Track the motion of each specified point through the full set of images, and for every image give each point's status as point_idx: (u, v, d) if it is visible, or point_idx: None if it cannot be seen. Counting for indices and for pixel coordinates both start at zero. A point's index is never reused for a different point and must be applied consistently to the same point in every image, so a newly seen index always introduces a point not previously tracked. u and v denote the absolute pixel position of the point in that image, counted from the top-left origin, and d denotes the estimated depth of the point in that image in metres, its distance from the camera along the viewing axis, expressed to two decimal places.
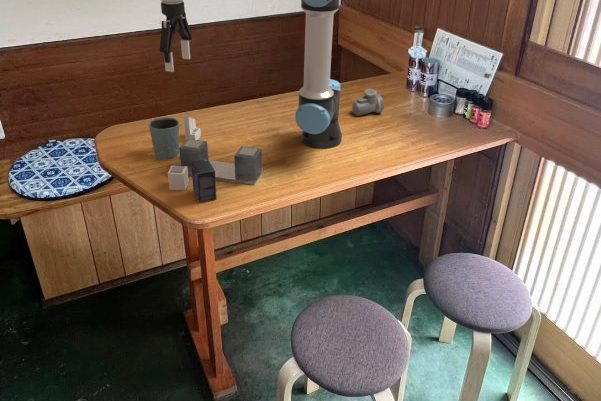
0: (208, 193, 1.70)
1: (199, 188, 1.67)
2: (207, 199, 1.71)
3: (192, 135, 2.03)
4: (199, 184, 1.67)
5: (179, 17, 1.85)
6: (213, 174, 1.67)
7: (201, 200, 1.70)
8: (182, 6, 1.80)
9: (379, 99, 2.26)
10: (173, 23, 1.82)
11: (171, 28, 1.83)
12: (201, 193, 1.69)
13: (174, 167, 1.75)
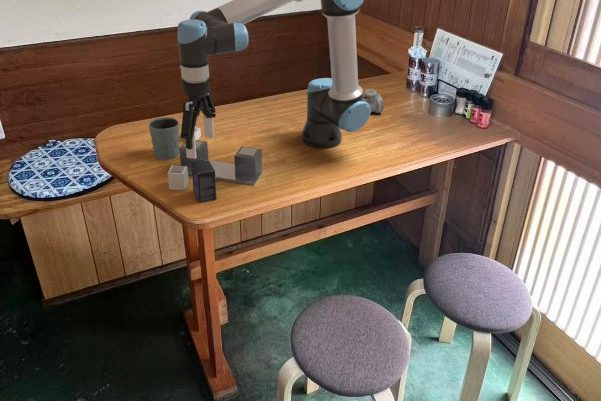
0: (208, 193, 1.70)
1: (199, 188, 1.67)
2: (207, 199, 1.71)
3: None
4: (199, 184, 1.67)
5: (202, 95, 1.58)
6: (213, 174, 1.67)
7: (201, 200, 1.70)
8: (207, 84, 1.53)
9: (379, 99, 2.26)
10: (196, 104, 1.54)
11: (194, 109, 1.55)
12: (201, 193, 1.69)
13: (174, 167, 1.75)
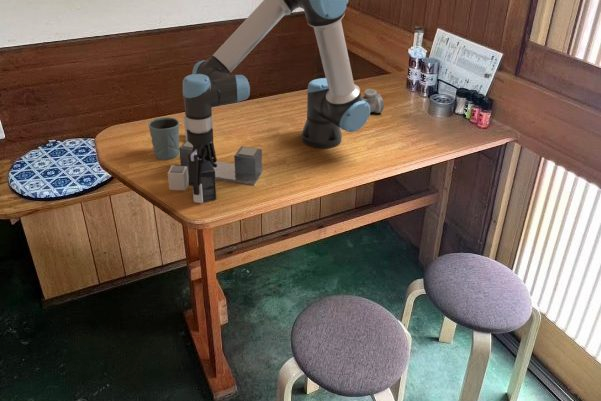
0: (208, 193, 1.69)
1: None
2: (207, 199, 1.71)
3: None
4: None
5: None
6: (213, 174, 1.67)
7: None
8: (211, 134, 1.61)
9: (379, 99, 2.26)
10: (200, 152, 1.62)
11: (198, 157, 1.63)
12: None
13: (174, 167, 1.75)
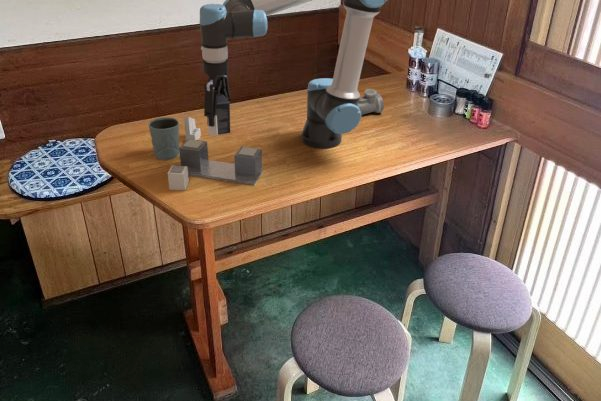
0: (222, 126, 1.73)
1: None
2: (221, 132, 1.74)
3: (192, 135, 2.03)
4: None
5: (221, 75, 1.69)
6: (228, 106, 1.70)
7: None
8: (226, 64, 1.65)
9: (379, 99, 2.26)
10: (216, 83, 1.66)
11: (213, 88, 1.67)
12: None
13: (174, 167, 1.75)
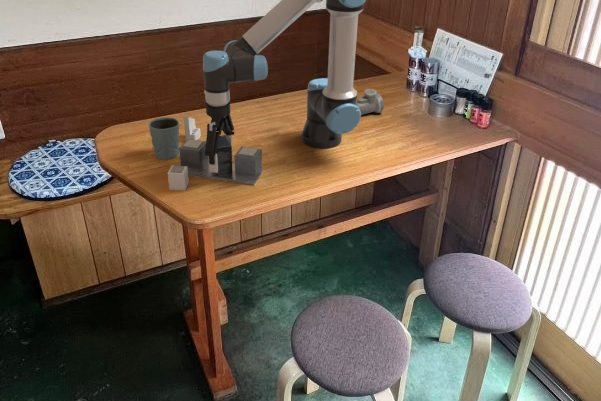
0: (225, 167, 1.81)
1: None
2: (224, 173, 1.82)
3: (192, 135, 2.03)
4: (217, 158, 1.78)
5: (223, 116, 1.77)
6: (230, 149, 1.78)
7: (218, 174, 1.82)
8: (228, 107, 1.72)
9: (379, 99, 2.26)
10: (218, 124, 1.74)
11: (216, 129, 1.75)
12: (218, 167, 1.80)
13: (174, 167, 1.75)
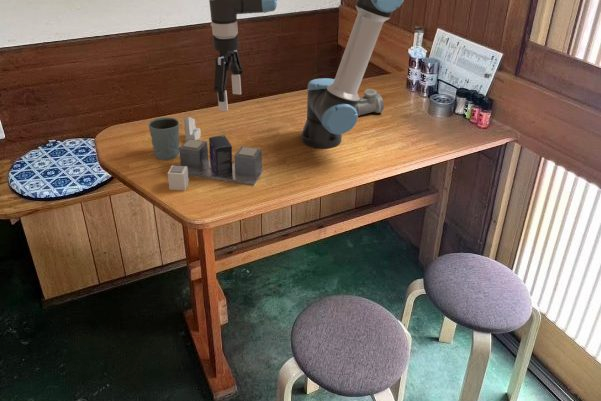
0: (225, 167, 1.81)
1: (217, 162, 1.79)
2: (224, 173, 1.82)
3: (192, 135, 2.03)
4: (217, 158, 1.78)
5: (231, 52, 1.70)
6: (230, 149, 1.78)
7: (218, 174, 1.82)
8: (236, 40, 1.65)
9: (379, 99, 2.26)
10: (227, 59, 1.66)
11: (224, 64, 1.67)
12: (218, 167, 1.80)
13: (174, 167, 1.75)
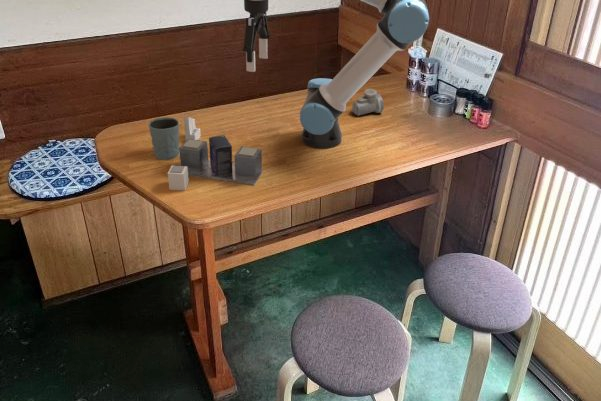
0: (225, 167, 1.81)
1: (217, 162, 1.79)
2: (224, 173, 1.82)
3: (192, 135, 2.03)
4: (217, 158, 1.78)
5: (261, 14, 1.76)
6: (230, 149, 1.78)
7: (218, 174, 1.82)
8: (267, 2, 1.71)
9: (379, 99, 2.26)
10: (257, 20, 1.73)
11: None
12: (218, 167, 1.80)
13: (174, 167, 1.75)
